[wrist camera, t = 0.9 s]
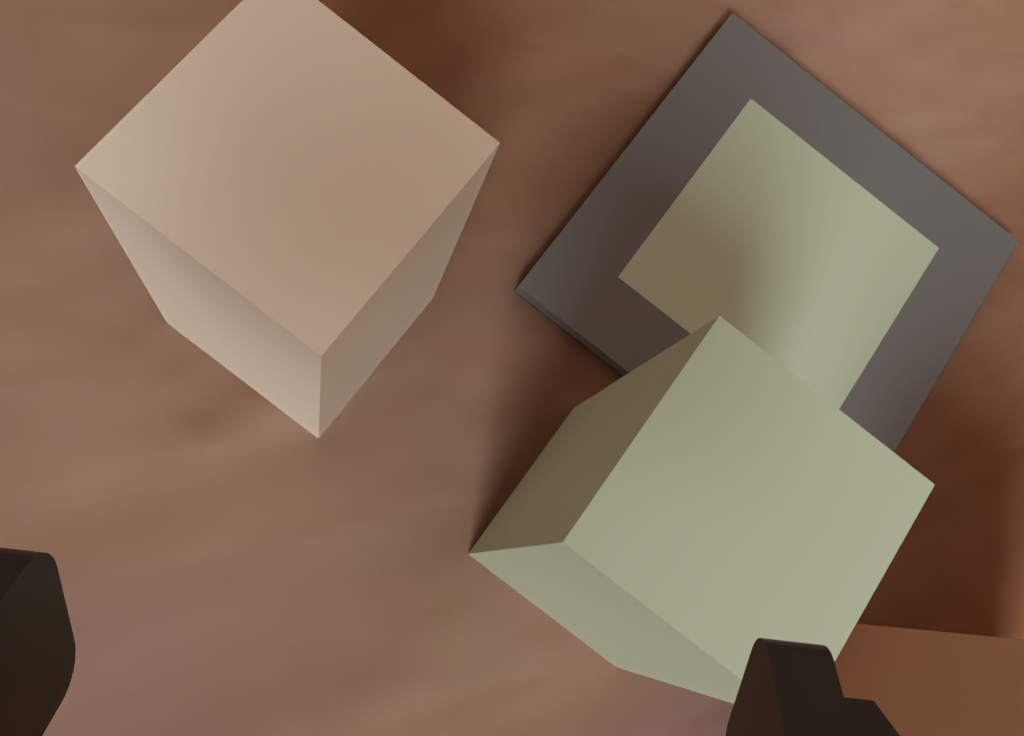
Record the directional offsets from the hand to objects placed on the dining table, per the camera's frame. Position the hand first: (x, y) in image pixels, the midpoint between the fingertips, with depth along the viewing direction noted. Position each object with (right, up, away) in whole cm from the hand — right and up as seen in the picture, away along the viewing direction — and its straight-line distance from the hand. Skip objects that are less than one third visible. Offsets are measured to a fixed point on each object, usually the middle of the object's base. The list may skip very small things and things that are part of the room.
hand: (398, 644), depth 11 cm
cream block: (-5, +5, +20) cm, 21 cm away
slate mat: (+11, +7, +24) cm, 27 cm away
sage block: (+4, -2, +20) cm, 21 cm away
